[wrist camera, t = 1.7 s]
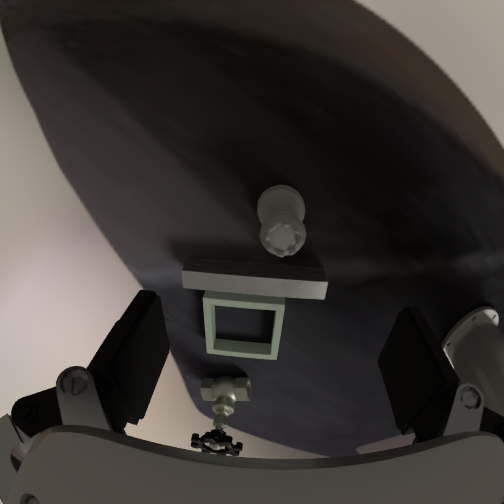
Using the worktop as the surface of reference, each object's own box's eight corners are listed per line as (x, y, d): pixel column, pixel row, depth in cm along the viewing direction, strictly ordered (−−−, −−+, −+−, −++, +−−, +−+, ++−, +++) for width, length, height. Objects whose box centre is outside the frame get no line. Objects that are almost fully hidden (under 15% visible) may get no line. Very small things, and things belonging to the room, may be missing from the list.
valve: (200, 365, 36) (180, 435, 25) (245, 364, 35) (235, 440, 24) (213, 391, 39) (199, 455, 28) (254, 390, 38) (247, 458, 27)
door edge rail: (323, 267, 28) (328, 282, 25) (320, 283, 28) (324, 299, 26) (190, 256, 28) (181, 270, 26) (191, 272, 29) (183, 287, 26)
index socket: (284, 294, 29) (285, 305, 28) (276, 348, 33) (276, 359, 31) (206, 287, 30) (202, 297, 28) (210, 342, 34) (207, 352, 32)
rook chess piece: (311, 218, 25) (325, 255, 18) (269, 236, 27) (267, 278, 19) (292, 175, 24) (300, 197, 17) (248, 195, 25) (237, 225, 18)
